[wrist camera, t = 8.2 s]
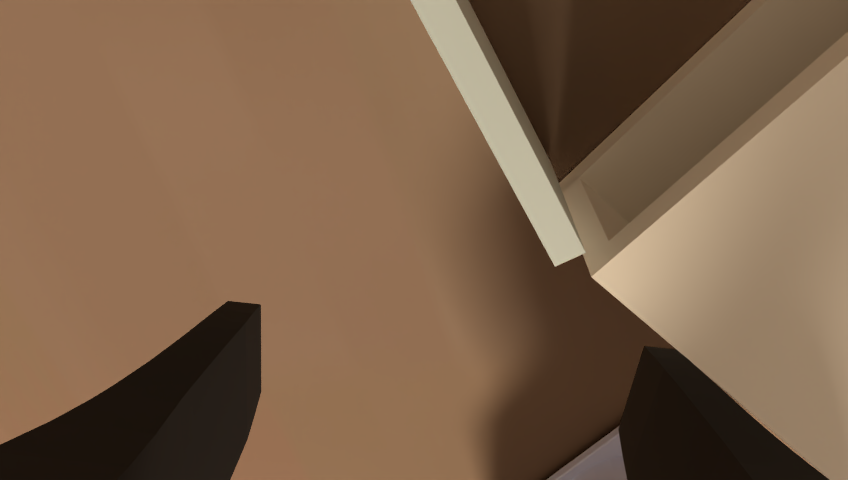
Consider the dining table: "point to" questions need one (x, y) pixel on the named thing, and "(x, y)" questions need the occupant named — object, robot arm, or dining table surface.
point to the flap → (502, 121)
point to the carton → (740, 218)
